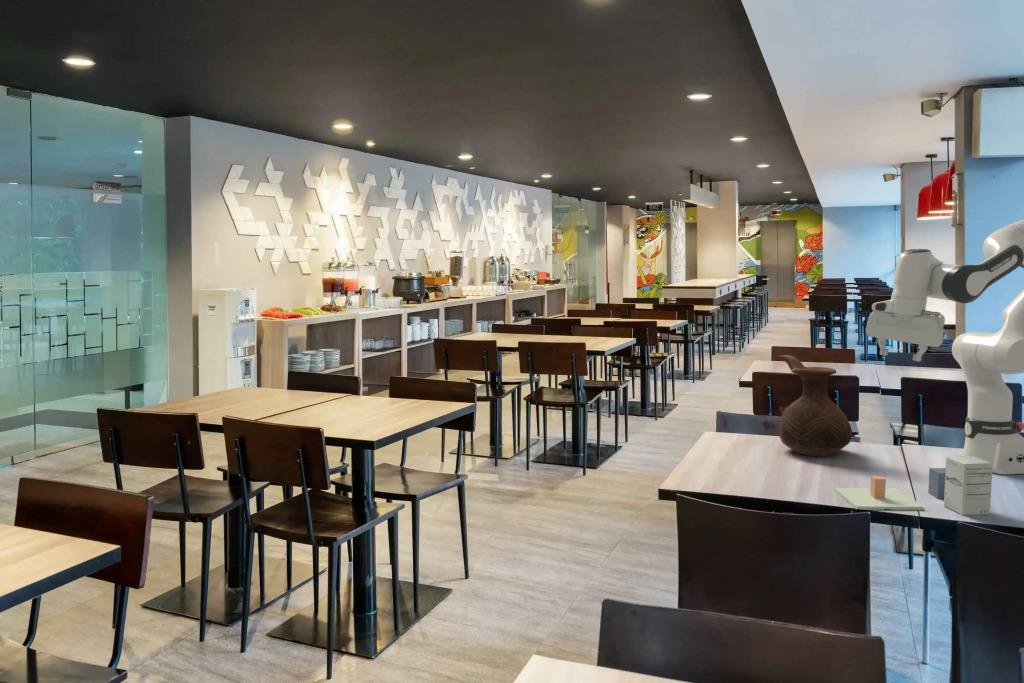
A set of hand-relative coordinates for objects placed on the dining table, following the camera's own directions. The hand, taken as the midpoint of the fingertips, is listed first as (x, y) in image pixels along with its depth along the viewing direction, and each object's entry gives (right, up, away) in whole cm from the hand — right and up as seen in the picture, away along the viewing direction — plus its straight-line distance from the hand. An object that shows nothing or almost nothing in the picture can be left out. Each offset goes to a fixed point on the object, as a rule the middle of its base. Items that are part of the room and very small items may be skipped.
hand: (899, 357), depth 224 cm
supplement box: (+3, -37, -27) cm, 46 cm away
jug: (-11, -31, +33) cm, 47 cm away
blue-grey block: (+4, -35, -15) cm, 38 cm away
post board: (-14, -36, -18) cm, 42 cm away
